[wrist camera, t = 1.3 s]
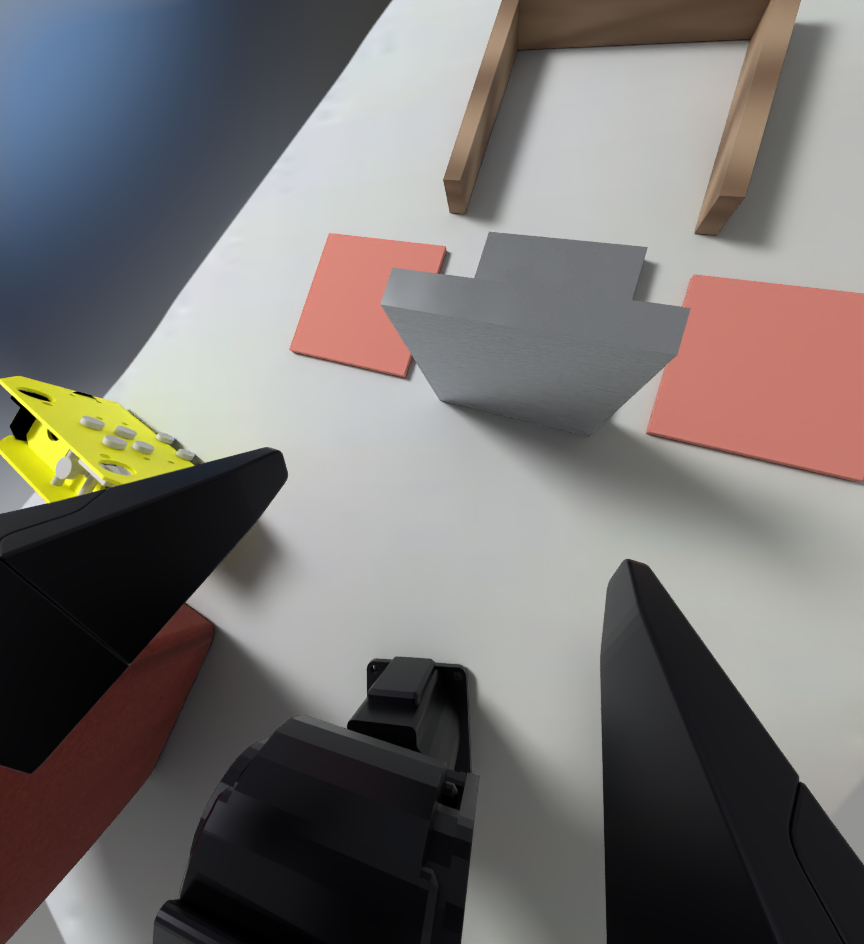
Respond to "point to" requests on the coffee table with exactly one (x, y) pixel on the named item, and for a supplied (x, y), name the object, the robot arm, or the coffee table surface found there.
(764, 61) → the walnut corral
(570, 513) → the coffee table surface
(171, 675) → the plant pot
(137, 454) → the yellow toy chassis
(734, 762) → the robot arm
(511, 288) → the grey bookend
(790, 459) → the mat
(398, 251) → the mat
